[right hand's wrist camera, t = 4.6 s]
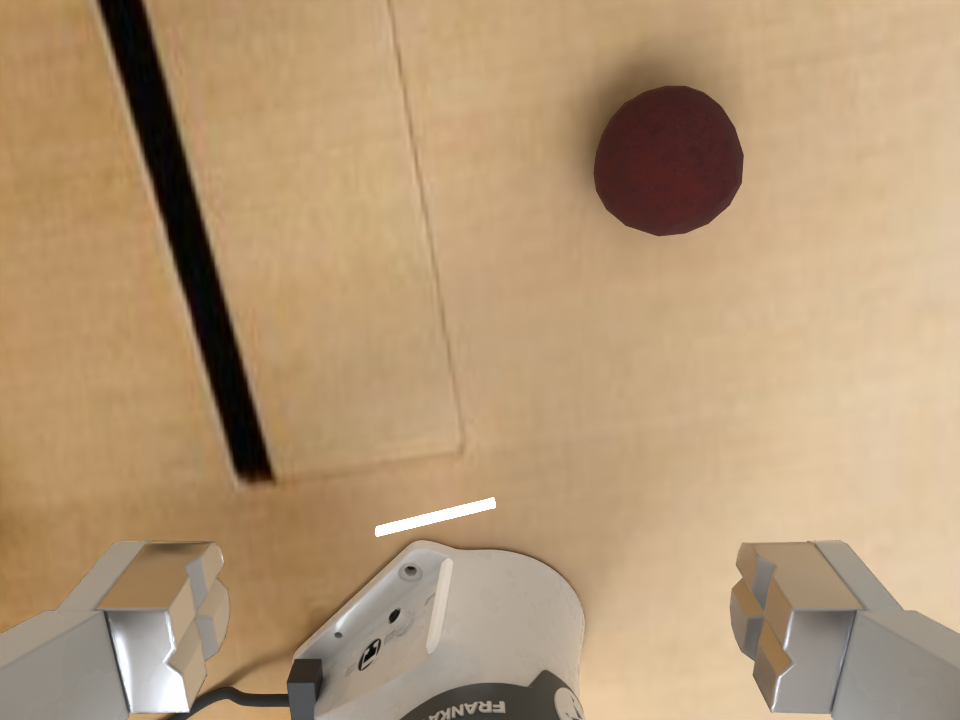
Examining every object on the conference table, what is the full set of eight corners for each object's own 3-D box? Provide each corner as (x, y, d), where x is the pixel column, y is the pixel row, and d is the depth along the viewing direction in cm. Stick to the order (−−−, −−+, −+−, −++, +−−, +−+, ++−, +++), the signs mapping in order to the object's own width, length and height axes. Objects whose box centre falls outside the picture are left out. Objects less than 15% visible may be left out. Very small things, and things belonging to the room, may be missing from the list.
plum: (669, 59, 36) (712, 48, 30) (739, 176, 39) (793, 190, 32) (558, 144, 38) (575, 152, 31) (631, 253, 40) (662, 281, 34)
